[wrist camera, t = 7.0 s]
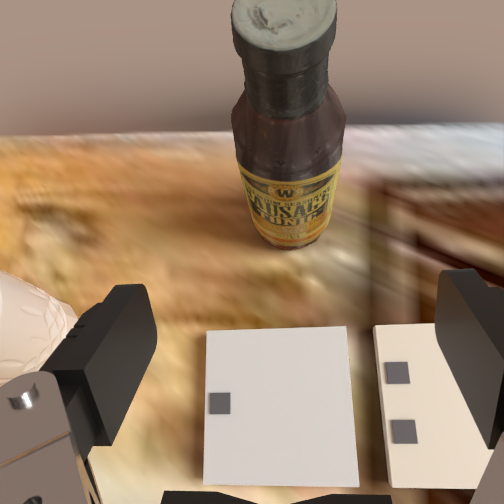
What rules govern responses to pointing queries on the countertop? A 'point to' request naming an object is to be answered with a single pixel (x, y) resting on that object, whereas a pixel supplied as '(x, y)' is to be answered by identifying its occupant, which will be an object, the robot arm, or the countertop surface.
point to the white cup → (29, 326)
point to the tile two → (424, 413)
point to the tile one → (279, 408)
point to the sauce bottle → (287, 117)
